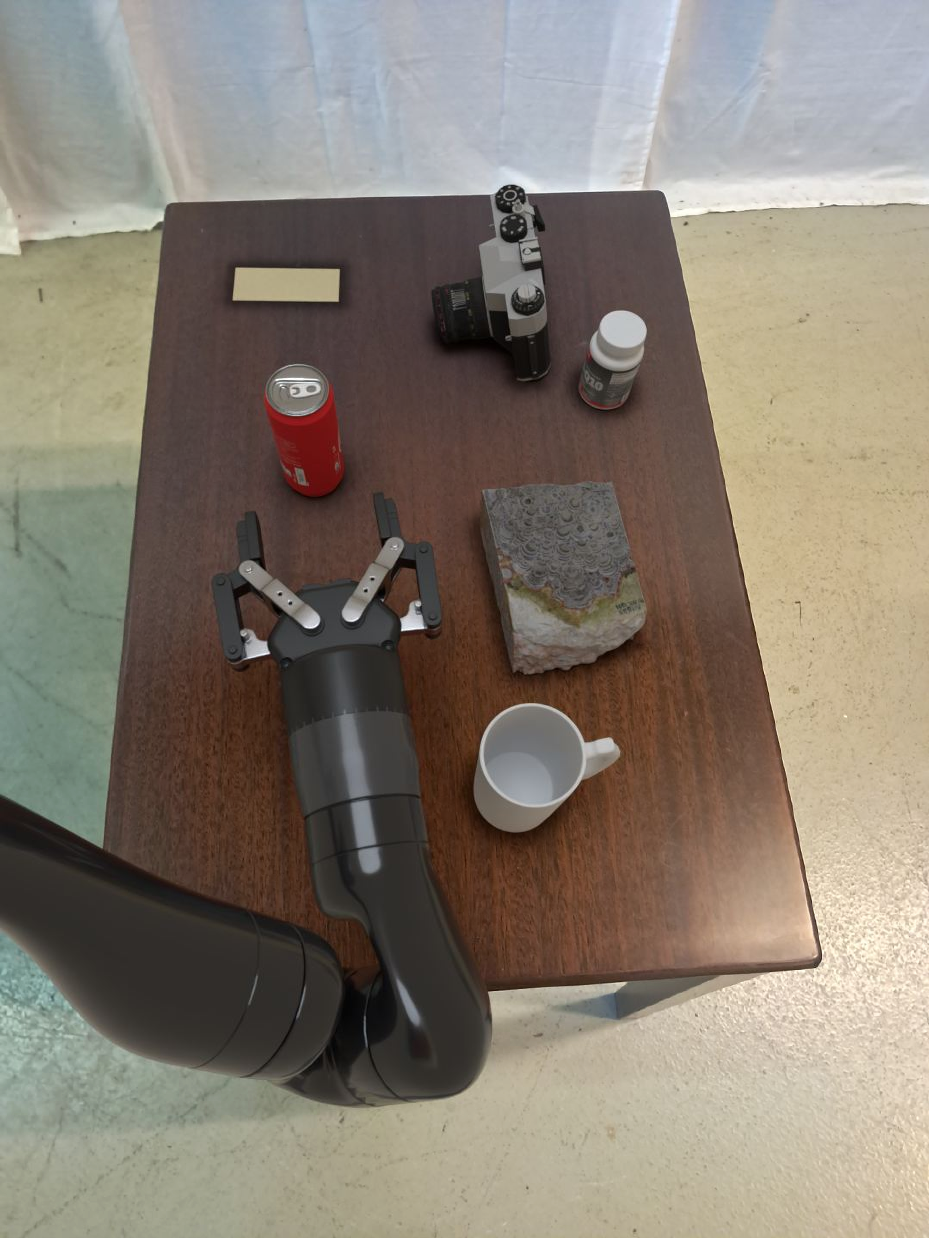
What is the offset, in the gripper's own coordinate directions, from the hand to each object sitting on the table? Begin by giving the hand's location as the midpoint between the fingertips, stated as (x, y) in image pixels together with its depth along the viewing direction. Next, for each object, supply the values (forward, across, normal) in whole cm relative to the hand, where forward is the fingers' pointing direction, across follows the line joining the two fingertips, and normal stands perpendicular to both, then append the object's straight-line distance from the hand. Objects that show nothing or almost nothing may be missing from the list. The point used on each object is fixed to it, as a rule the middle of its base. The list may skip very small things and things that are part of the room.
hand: (315, 507), depth 59 cm
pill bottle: (+16, -27, +14) cm, 35 cm away
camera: (+25, -18, +14) cm, 34 cm away
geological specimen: (-3, -18, +14) cm, 23 cm away
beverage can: (+11, 0, +14) cm, 18 cm away
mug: (-19, -12, +14) cm, 27 cm away
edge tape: (+33, 0, +14) cm, 36 cm away
